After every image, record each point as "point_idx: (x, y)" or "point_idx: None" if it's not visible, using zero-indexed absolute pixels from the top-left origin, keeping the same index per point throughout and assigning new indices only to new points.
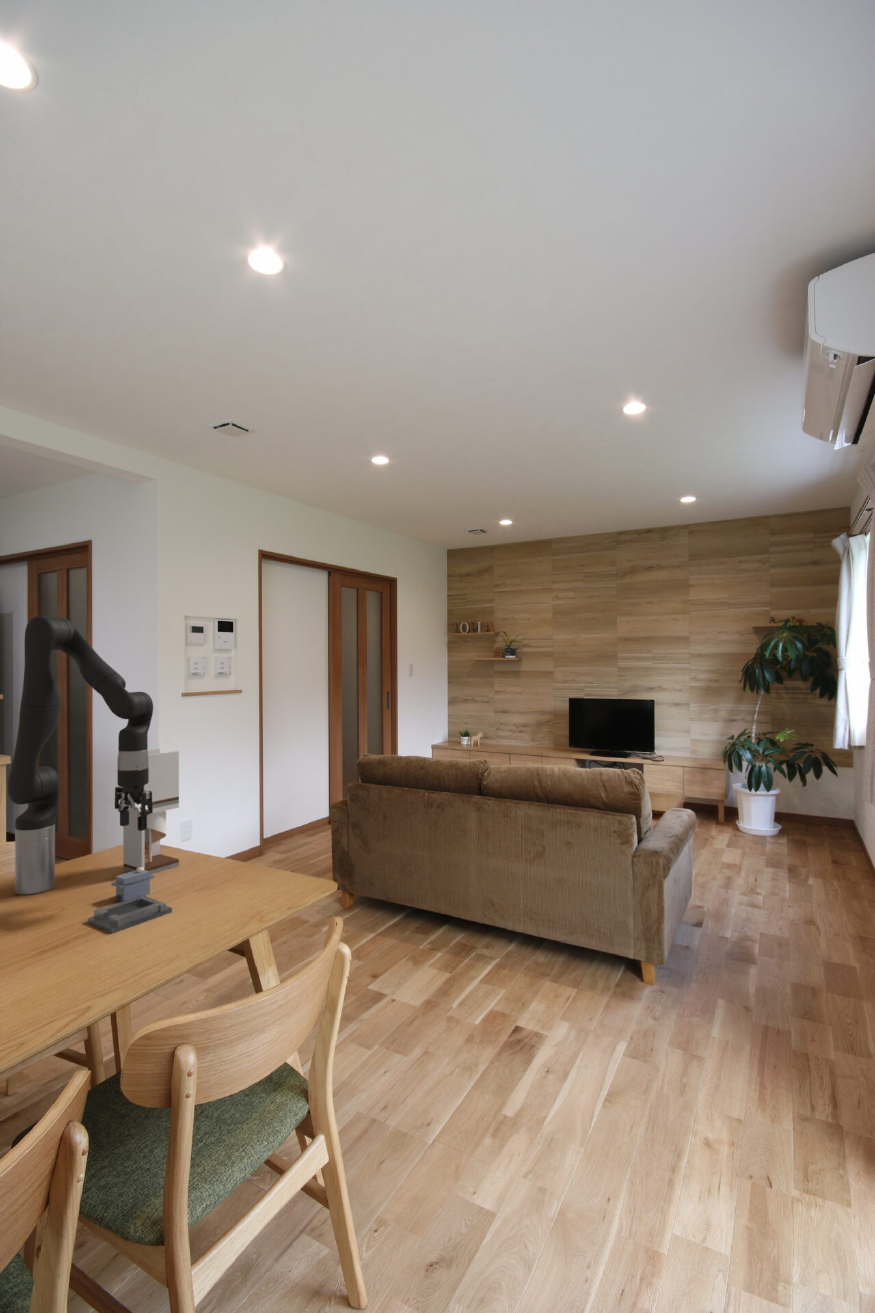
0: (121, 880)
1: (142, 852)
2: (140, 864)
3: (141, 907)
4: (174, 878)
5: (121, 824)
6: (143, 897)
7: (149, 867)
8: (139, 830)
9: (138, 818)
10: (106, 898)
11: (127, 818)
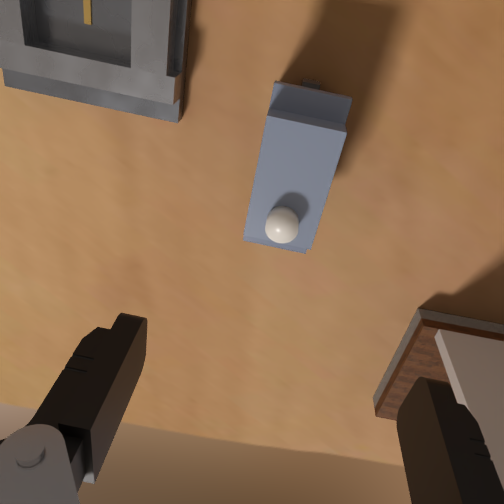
0: (293, 117)
1: (456, 380)
2: (451, 341)
3: (107, 36)
4: (296, 320)
5: (426, 387)
6: (134, 82)
7: (418, 344)
8: (121, 314)
9: (75, 409)
10: (387, 91)
11: (412, 466)
